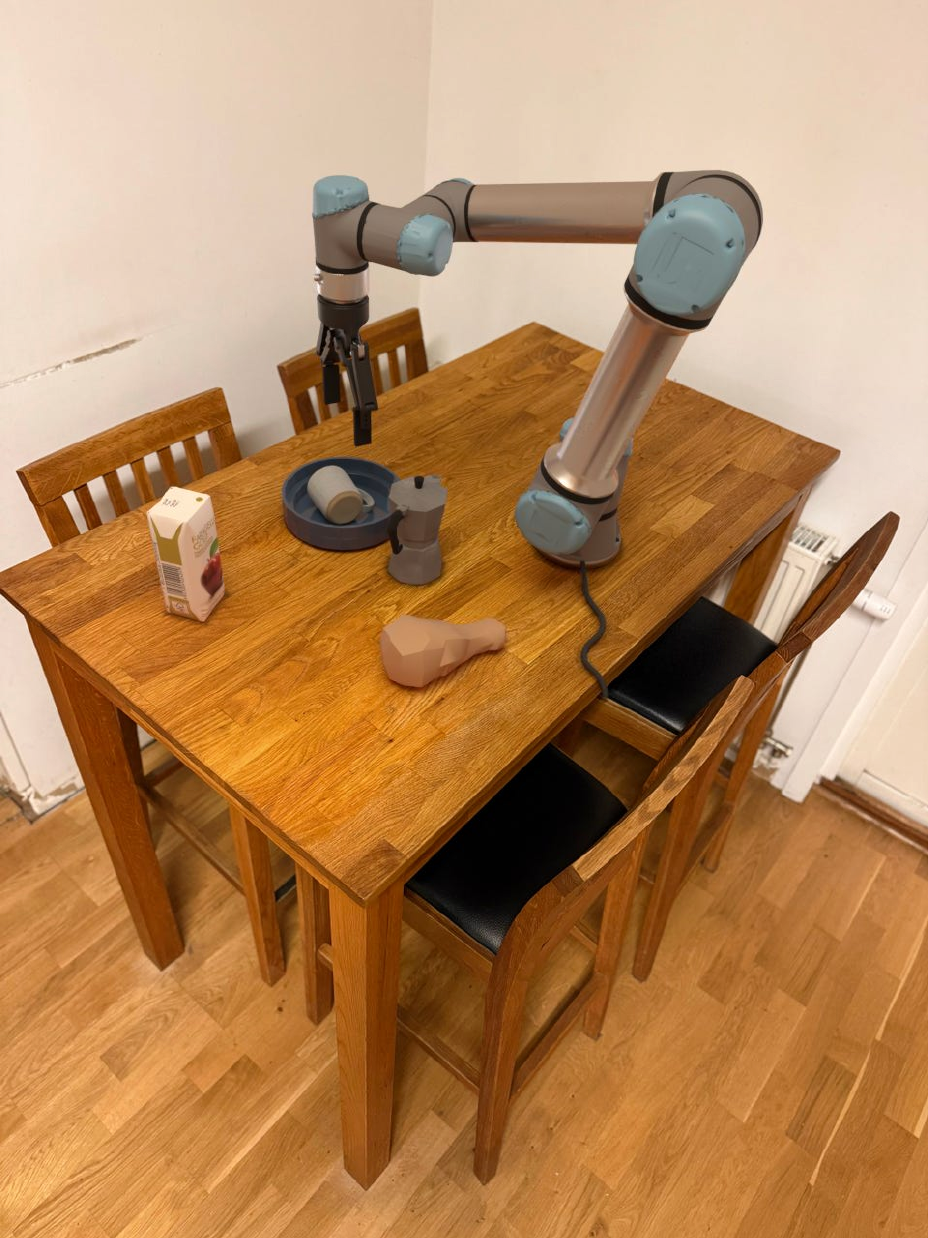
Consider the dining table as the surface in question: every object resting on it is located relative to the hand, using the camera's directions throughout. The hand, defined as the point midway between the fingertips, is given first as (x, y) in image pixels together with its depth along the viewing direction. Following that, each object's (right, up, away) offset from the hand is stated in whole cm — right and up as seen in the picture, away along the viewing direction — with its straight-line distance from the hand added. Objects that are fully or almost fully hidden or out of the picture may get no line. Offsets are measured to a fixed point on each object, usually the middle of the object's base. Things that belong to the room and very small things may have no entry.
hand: (347, 422), depth 143 cm
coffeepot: (+10, -24, +3) cm, 26 cm away
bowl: (-2, -14, +12) cm, 19 cm away
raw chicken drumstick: (+16, -38, -11) cm, 42 cm away
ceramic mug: (-2, -13, +12) cm, 18 cm away
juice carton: (-22, -29, -6) cm, 38 cm away
